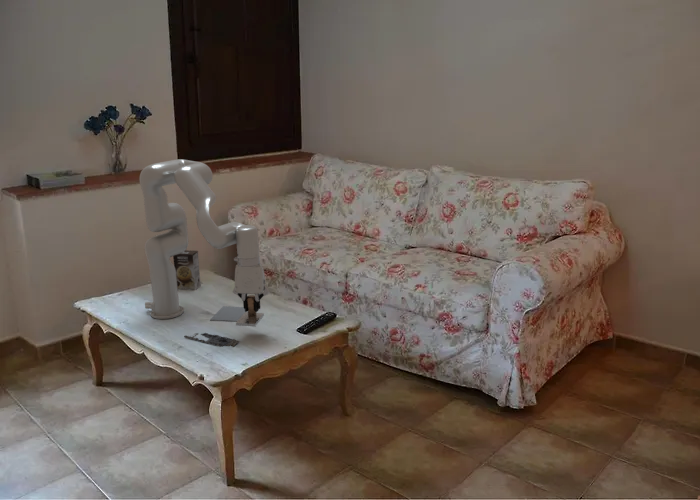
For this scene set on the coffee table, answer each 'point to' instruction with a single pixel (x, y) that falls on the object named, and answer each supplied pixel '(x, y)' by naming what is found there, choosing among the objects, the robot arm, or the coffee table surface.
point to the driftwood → (215, 340)
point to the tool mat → (228, 314)
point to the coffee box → (187, 270)
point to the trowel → (250, 314)
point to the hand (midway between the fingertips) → (252, 310)
